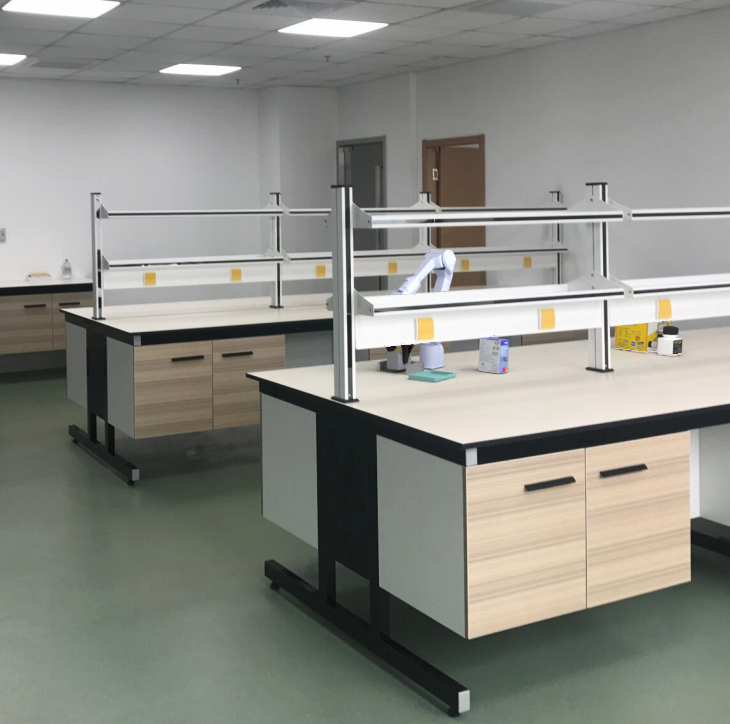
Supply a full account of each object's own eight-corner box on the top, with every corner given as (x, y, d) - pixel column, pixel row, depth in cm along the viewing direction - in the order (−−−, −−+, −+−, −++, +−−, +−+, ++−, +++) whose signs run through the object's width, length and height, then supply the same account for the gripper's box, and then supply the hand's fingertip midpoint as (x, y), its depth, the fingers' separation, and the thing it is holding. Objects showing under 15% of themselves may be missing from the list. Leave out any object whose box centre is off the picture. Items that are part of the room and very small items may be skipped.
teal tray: (430, 374, 347) (430, 369, 347) (456, 377, 341) (456, 372, 340) (408, 379, 336) (408, 374, 336) (434, 382, 330) (434, 378, 329)
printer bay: (393, 367, 360) (393, 358, 360) (423, 371, 352) (423, 362, 352) (377, 371, 353) (377, 361, 352) (408, 375, 344) (408, 365, 344)
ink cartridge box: (509, 372, 351) (510, 332, 348) (499, 374, 347) (500, 334, 344) (487, 369, 357) (488, 330, 355) (477, 371, 354) (478, 331, 351)
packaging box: (637, 346, 421) (640, 288, 417) (669, 350, 408) (673, 291, 405) (614, 349, 411) (616, 290, 407) (646, 353, 398) (649, 293, 395)
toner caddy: (399, 365, 356) (399, 348, 355) (410, 367, 353) (411, 349, 352) (386, 368, 350) (387, 350, 349) (398, 369, 347) (398, 351, 346)
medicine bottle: (672, 357, 389) (674, 327, 387) (656, 355, 394) (658, 326, 392) (681, 355, 393) (683, 326, 392) (666, 353, 399) (667, 324, 397)
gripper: (376, 324, 350) (376, 361, 352) (409, 327, 341) (409, 365, 343) (387, 322, 356) (387, 359, 358) (420, 325, 347) (420, 363, 349)
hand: (399, 362), depth 351 cm, fingers closed on toner caddy, 5 cm apart
